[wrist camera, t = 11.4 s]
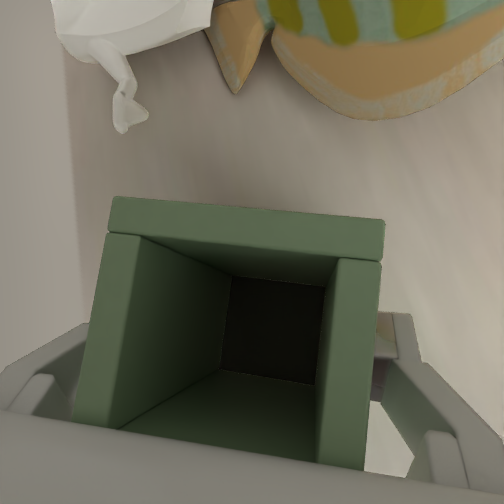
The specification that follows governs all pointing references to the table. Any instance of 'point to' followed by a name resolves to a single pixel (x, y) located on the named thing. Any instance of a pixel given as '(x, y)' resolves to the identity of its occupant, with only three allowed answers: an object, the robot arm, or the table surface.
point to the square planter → (213, 327)
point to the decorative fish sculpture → (364, 48)
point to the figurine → (125, 38)
